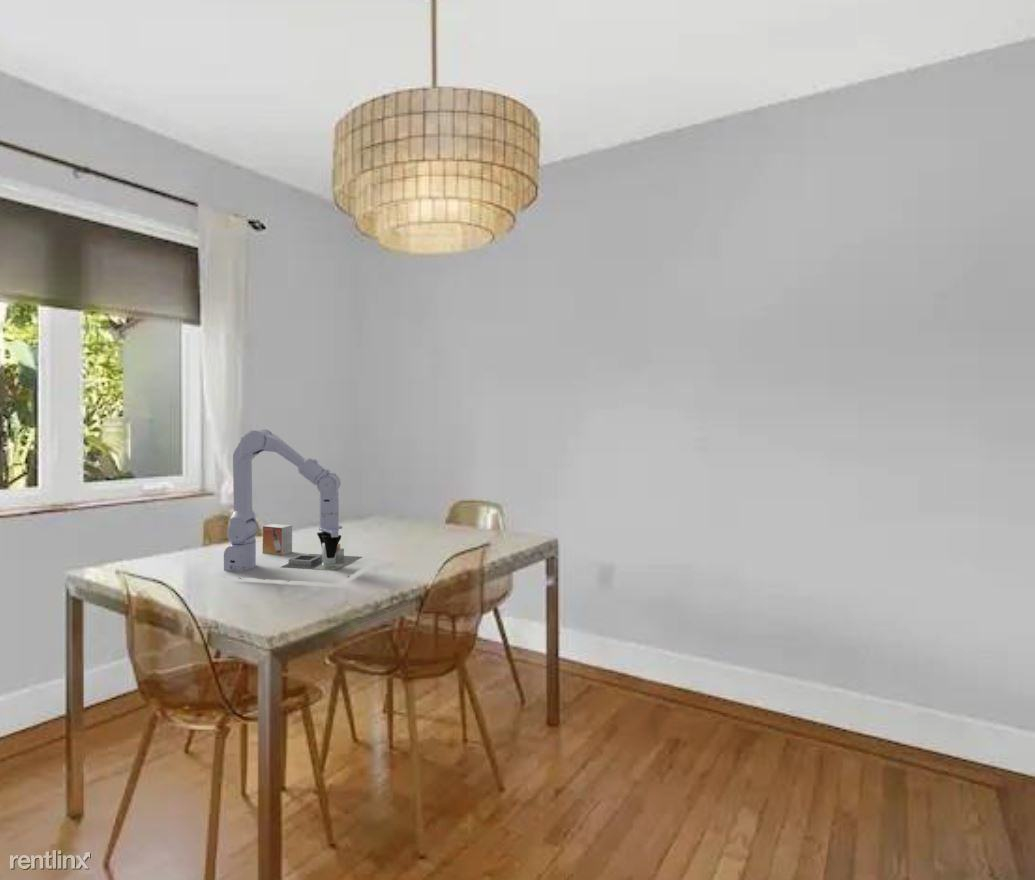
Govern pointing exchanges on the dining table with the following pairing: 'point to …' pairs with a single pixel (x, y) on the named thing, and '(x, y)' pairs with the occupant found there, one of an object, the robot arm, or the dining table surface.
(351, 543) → the dining table surface
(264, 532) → the small box
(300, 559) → the housing
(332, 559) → the cylinder
